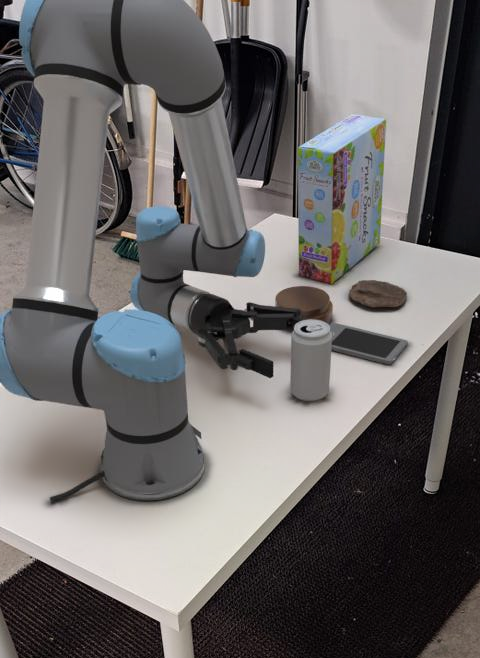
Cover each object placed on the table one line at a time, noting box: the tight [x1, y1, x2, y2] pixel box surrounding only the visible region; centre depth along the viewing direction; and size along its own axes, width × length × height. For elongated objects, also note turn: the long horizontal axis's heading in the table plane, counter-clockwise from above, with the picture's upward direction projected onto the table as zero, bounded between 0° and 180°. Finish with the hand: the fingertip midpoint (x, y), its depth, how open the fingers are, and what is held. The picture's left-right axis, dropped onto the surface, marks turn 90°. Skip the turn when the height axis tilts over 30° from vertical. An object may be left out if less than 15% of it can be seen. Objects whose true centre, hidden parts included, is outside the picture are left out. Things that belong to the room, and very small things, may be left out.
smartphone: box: [329, 322, 408, 365], centre depth 152 cm, size 15×8×1 cm, turn 60°
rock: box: [348, 279, 408, 308], centre depth 165 cm, size 11×12×3 cm
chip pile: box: [274, 285, 334, 333], centre depth 158 cm, size 10×10×4 cm
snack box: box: [297, 113, 387, 285], centre depth 170 cm, size 22×9×26 cm, turn 147°
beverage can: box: [289, 319, 332, 402], centre depth 137 cm, size 6×6×12 cm
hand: (299, 353), depth 138 cm, fingers open, 13 cm apart
